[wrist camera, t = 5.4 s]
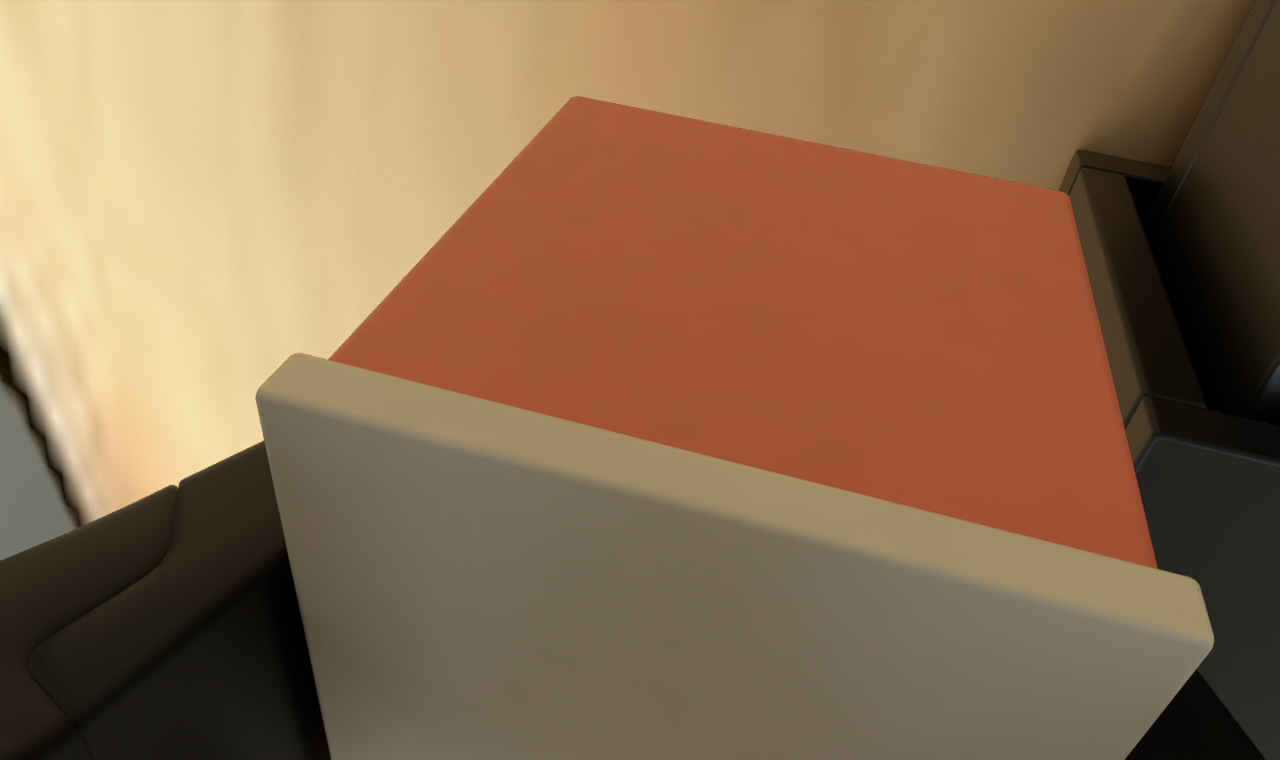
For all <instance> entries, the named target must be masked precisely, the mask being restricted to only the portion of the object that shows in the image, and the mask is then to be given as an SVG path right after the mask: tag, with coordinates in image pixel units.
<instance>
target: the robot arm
mask: <svg viewBox="0 0 1280 760" xmlns="http://www.w3.org/2000/svg"><path fill="white" fill-rule="evenodd" d="M0 760H331V757H330V752H329V747H328V742H327V738H326V733H325V728H324V723H323V718H322V714H321V709H320V704H319V699H318V694H317V690H316V685H315V680H314V675H313V671H312V666H311V661H310V656H309V651H308V647H307V642H306V637H305V632H304V628H303V623H302V618H301V613H300V608H299V604H298V599H297V594H296V589H295V585H294V580H293V575H292V570H291V565H290V561H289V556H288V551H287V546H286V541H285V537H284V532H283V527H282V522H281V518H280V513H279V508H278V503H277V498H276V494H275V489H274V484H273V479H272V475H271V470H270V465H269V460H268V455H267V451H266V446H265V441H262V442H260V443H258V444H256V445H253V446H251V447H249V448H247V449H245V450H243V451H241V452H239V453H237V454H235V455H233V456H231V457H228V458H226V459H224V460H222V461H220V462H218V463H216V464H214V465H212V466H210V467H208V468H206V469H204V470H201V471H199V472H197V473H195V474H193V475H191V476H189V477H187V478H185V479H183V480H181V481H180V483H179V487H177V486H175V485H170V486H168V487H165V488H163V489H161V490H159V491H157V492H155V493H153V494H151V495H149V496H147V497H145V498H143V499H140V500H138V501H136V502H134V503H132V504H130V505H128V506H126V507H123V508H121V509H119V510H117V511H115V512H112V513H110V514H108V515H106V516H104V517H102V518H99V519H97V520H95V521H93V522H91V523H88V524H86V525H84V526H82V527H80V528H77V529H75V530H73V531H71V532H69V533H67V534H64V535H62V536H59V537H57V538H54V539H52V540H50V541H47V542H45V543H42V544H40V545H37V546H35V547H33V548H30V549H28V550H25V551H23V552H21V553H18V554H16V555H13V556H11V557H9V558H6V559H4V560H1V561H0ZM1125 760H1266V759H1265V757H1264V756H1263V755H1262V754H1261V752H1260V751H1259V750H1258V748H1257V747H1256V746H1255V744H1254V743H1253V742H1252V740H1251V739H1250V738H1249V736H1248V735H1247V734H1246V733H1245V731H1244V730H1243V729H1242V727H1241V726H1240V725H1239V723H1238V722H1237V721H1236V719H1235V718H1234V717H1233V715H1232V714H1231V713H1230V712H1229V710H1228V709H1227V708H1226V706H1225V705H1224V704H1223V702H1222V701H1221V700H1220V698H1219V697H1218V696H1217V695H1216V693H1215V692H1214V691H1213V689H1212V688H1211V687H1210V685H1209V684H1208V683H1207V681H1206V680H1205V679H1204V677H1203V676H1202V675H1201V674H1200V672H1199V671H1198V670H1197V669H1196V670H1195V671H1194V672H1193V674H1192V675H1191V676H1190V678H1189V679H1188V680H1187V681H1186V683H1185V684H1184V685H1183V686H1182V688H1181V689H1180V690H1179V691H1178V693H1177V694H1176V695H1175V697H1174V698H1173V699H1172V700H1171V702H1170V703H1169V704H1168V705H1167V707H1166V708H1165V709H1164V710H1163V712H1162V713H1161V714H1160V716H1159V717H1158V718H1157V719H1156V721H1155V722H1154V723H1153V724H1152V726H1151V727H1150V728H1149V729H1148V731H1147V732H1146V733H1145V735H1144V736H1143V737H1142V738H1141V740H1140V741H1139V742H1138V743H1137V745H1136V746H1135V747H1134V748H1133V750H1132V751H1131V752H1130V754H1129V755H1128V756H1127V757H1126V759H1125Z"/></svg>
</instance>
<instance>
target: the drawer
mask: <svg viewBox="0 0 1280 760" xmlns="http://www.w3.org/2000/svg"><path fill="white" fill-rule="evenodd" d="M1142 226H1143V228H1144V231H1145V234H1146V237H1147V239H1148V242H1149V245H1150V248H1151V251H1152V253H1153V256H1154V259H1155V262H1156V264H1157V267H1158V270H1159V273H1160V275H1161V278H1162V281H1163V284H1164V287H1165V289H1166V292H1167V295H1168V298H1169V300H1170V303H1171V306H1172V309H1173V312H1174V314H1175V317H1176V320H1177V323H1178V325H1179V328H1180V331H1181V334H1182V336H1183V339H1184V342H1185V345H1186V348H1187V350H1188V353H1189V356H1190V359H1191V361H1192V364H1193V367H1194V370H1195V373H1196V375H1197V378H1198V381H1199V384H1200V386H1201V389H1202V392H1203V395H1204V397H1205V400H1206V403H1207V409H1209V410H1213V411H1217V412H1222V413H1226V414H1230V415H1234V416H1239V417H1243V418H1247V419H1251V420H1256V421H1260V422H1264V423H1268V424H1273V425H1277V426H1280V0H1255V1H1254V3H1253V5H1252V7H1251V9H1250V11H1249V13H1248V15H1247V17H1246V19H1245V21H1244V23H1243V25H1242V27H1241V29H1240V31H1239V33H1238V35H1237V37H1236V39H1235V41H1234V43H1233V45H1232V47H1231V49H1230V51H1229V53H1228V55H1227V57H1226V59H1225V61H1224V63H1223V65H1222V67H1221V69H1220V71H1219V73H1218V75H1217V77H1216V79H1215V81H1214V83H1213V85H1212V87H1211V89H1210V91H1209V93H1208V95H1207V97H1206V99H1205V101H1204V103H1203V105H1202V107H1201V109H1200V111H1199V113H1198V115H1197V117H1196V119H1195V121H1194V123H1193V125H1192V127H1191V129H1190V131H1189V133H1188V135H1187V137H1186V139H1185V141H1184V143H1183V145H1182V147H1181V149H1180V151H1179V153H1178V155H1177V157H1176V159H1175V161H1174V163H1173V165H1172V167H1171V169H1170V171H1169V173H1168V175H1167V177H1166V179H1165V181H1164V183H1163V185H1162V187H1161V189H1160V191H1159V193H1158V195H1157V197H1156V199H1155V201H1154V203H1153V205H1152V207H1151V209H1150V211H1149V213H1148V215H1147V217H1146V219H1145V221H1144V223H1143V225H1142Z"/></svg>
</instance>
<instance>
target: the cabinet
mask: <svg viewBox="0 0 1280 760" xmlns="http://www.w3.org/2000/svg"><path fill="white" fill-rule="evenodd" d="M1170 169H1171V168H1168V167H1163V166H1158V165H1153V164H1148V163H1143V162H1138V161H1133V160H1128V159H1123V158H1118V157H1113V156H1108V155H1103V154H1098V153H1093V152H1088V151H1083V150H1077V151H1076V152H1075V154H1074V157H1073V159H1072V161H1071V164H1070V166H1069V168H1068V171H1067V173H1066V176H1065V178H1064V180H1063V183H1062V185H1061V187H1060V190H1059V191H1061V192H1064V193H1065V194H1067V195H1069V197H1070V201H1071V205H1072V210H1073V214H1074V218H1075V222H1076V226H1077V231H1078V235H1079V239H1080V243H1081V247H1082V252H1083V256H1084V260H1085V264H1086V268H1087V273H1088V277H1089V281H1090V285H1091V290H1092V294H1093V298H1094V302H1095V306H1096V311H1097V315H1098V319H1099V323H1100V327H1101V332H1102V336H1103V340H1104V344H1105V348H1106V353H1107V357H1108V361H1109V365H1110V370H1111V374H1112V378H1113V382H1114V386H1115V391H1116V395H1117V399H1118V403H1119V407H1120V412H1121V416H1122V420H1123V424H1124V428H1125V433H1126V437H1127V441H1128V445H1129V450H1130V454H1131V458H1132V462H1133V466H1134V471H1135V475H1136V479H1137V483H1138V487H1139V492H1140V496H1141V500H1142V504H1143V508H1144V513H1145V517H1146V521H1147V525H1148V530H1149V534H1150V538H1151V542H1152V546H1153V551H1154V555H1155V559H1156V563H1157V567H1158V569H1159V570H1163V571H1167V572H1171V573H1175V574H1179V575H1183V576H1187V577H1190V578H1192V579H1194V580H1195V581H1197V583H1198V584H1199V585H1200V588H1201V592H1202V596H1203V599H1204V603H1205V606H1206V610H1207V613H1208V617H1209V621H1210V624H1211V628H1212V631H1213V635H1214V644H1213V648H1212V650H1211V651H1210V652H1209V653H1208V655H1207V656H1206V657H1205V659H1204V660H1203V661H1202V662H1201V664H1200V665H1199V666H1198V667H1197V670H1198V671H1199V672H1200V674H1201V675H1202V676H1203V677H1204V679H1205V680H1206V681H1207V683H1208V684H1209V685H1210V687H1211V688H1212V689H1213V691H1214V692H1215V693H1216V695H1217V696H1218V697H1219V698H1220V700H1221V701H1222V702H1223V704H1224V705H1225V706H1226V708H1227V709H1228V710H1229V712H1230V713H1231V714H1232V715H1233V717H1234V718H1235V719H1236V721H1237V722H1238V723H1239V725H1240V726H1241V727H1242V729H1243V730H1244V731H1245V733H1246V734H1247V735H1248V736H1249V738H1250V739H1251V740H1252V742H1253V743H1254V744H1255V746H1256V747H1257V748H1258V750H1259V751H1260V752H1261V754H1262V755H1263V756H1264V757H1265V759H1266V760H1280V426H1277V425H1273V424H1268V423H1264V422H1260V421H1256V420H1251V419H1247V418H1243V417H1239V416H1234V415H1230V414H1226V413H1222V412H1217V411H1213V410H1209V409H1207V403H1206V400H1205V397H1204V395H1203V392H1202V389H1201V386H1200V384H1199V381H1198V378H1197V375H1196V373H1195V370H1194V367H1193V364H1192V361H1191V359H1190V356H1189V353H1188V350H1187V348H1186V345H1185V342H1184V339H1183V336H1182V334H1181V331H1180V328H1179V325H1178V323H1177V320H1176V317H1175V314H1174V312H1173V309H1172V306H1171V303H1170V300H1169V298H1168V295H1167V292H1166V289H1165V287H1164V284H1163V281H1162V278H1161V275H1160V273H1159V270H1158V267H1157V264H1156V262H1155V259H1154V256H1153V253H1152V251H1151V248H1150V245H1149V242H1148V239H1147V237H1146V234H1145V231H1144V228H1143V226H1142V225H1143V223H1144V221H1145V219H1146V217H1147V215H1148V213H1149V211H1150V209H1151V207H1152V205H1153V203H1154V201H1155V199H1156V197H1157V195H1158V193H1159V191H1160V189H1161V187H1162V185H1163V183H1164V181H1165V179H1166V177H1167V175H1168V173H1169V171H1170Z"/></svg>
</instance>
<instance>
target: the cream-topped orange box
mask: <svg viewBox="0 0 1280 760" xmlns="http://www.w3.org/2000/svg"><path fill="white" fill-rule="evenodd" d="M256 403H257V408H258V412H259V417H260V422H261V427H262V432H263V436H264V441H265V446H266V451H267V455H268V460H269V465H270V470H271V475H272V479H273V484H274V489H275V494H276V498H277V503H278V508H279V513H280V518H281V522H282V527H283V532H284V537H285V541H286V546H287V551H288V556H289V561H290V565H291V570H292V575H293V580H294V585H295V589H296V594H297V599H298V604H299V608H300V613H301V618H302V623H303V628H304V632H305V637H306V642H307V647H308V651H309V656H310V661H311V666H312V671H313V675H314V680H315V685H316V690H317V694H318V699H319V704H320V709H321V714H322V718H323V723H324V728H325V733H326V738H327V742H328V747H329V752H330V757H331V760H1125V759H1126V757H1127V756H1128V755H1129V754H1130V752H1131V751H1132V750H1133V748H1134V747H1135V746H1136V745H1137V743H1138V742H1139V741H1140V740H1141V738H1142V737H1143V736H1144V735H1145V733H1146V732H1147V731H1148V729H1149V728H1150V727H1151V726H1152V724H1153V723H1154V722H1155V721H1156V719H1157V718H1158V717H1159V716H1160V714H1161V713H1162V712H1163V710H1164V709H1165V708H1166V707H1167V705H1168V704H1169V703H1170V702H1171V700H1172V699H1173V698H1174V697H1175V695H1176V694H1177V693H1178V691H1179V690H1180V689H1181V688H1182V686H1183V685H1184V684H1185V683H1186V681H1187V680H1188V679H1189V678H1190V676H1191V675H1192V674H1193V672H1194V671H1195V670H1196V669H1197V667H1198V666H1199V665H1200V664H1201V662H1202V661H1203V660H1204V659H1205V657H1206V656H1207V655H1208V653H1209V652H1210V651H1211V650H1212V648H1213V644H1214V635H1213V631H1212V628H1211V624H1210V621H1209V617H1208V613H1207V610H1206V606H1205V603H1204V599H1203V596H1202V592H1201V588H1200V585H1199V584H1198V583H1197V581H1195V580H1194V579H1192V578H1190V577H1187V576H1183V575H1179V574H1175V573H1171V572H1167V571H1163V570H1159V569H1158V567H1157V563H1156V559H1155V555H1154V551H1153V546H1152V542H1151V538H1150V534H1149V530H1148V525H1147V521H1146V517H1145V513H1144V508H1143V504H1142V500H1141V496H1140V492H1139V487H1138V483H1137V479H1136V475H1135V471H1134V466H1133V462H1132V458H1131V454H1130V450H1129V445H1128V441H1127V437H1126V433H1125V428H1124V424H1123V420H1122V416H1121V412H1120V407H1119V403H1118V399H1117V395H1116V391H1115V386H1114V382H1113V378H1112V374H1111V370H1110V365H1109V361H1108V357H1107V353H1106V348H1105V344H1104V340H1103V336H1102V332H1101V327H1100V323H1099V319H1098V315H1097V311H1096V306H1095V302H1094V298H1093V294H1092V290H1091V285H1090V281H1089V277H1088V273H1087V268H1086V264H1085V260H1084V256H1083V252H1082V247H1081V243H1080V239H1079V235H1078V231H1077V226H1076V222H1075V218H1074V214H1073V210H1072V205H1071V201H1070V197H1069V195H1067V194H1065V193H1064V192H1061V191H1056V190H1051V189H1046V188H1040V187H1035V186H1030V185H1025V184H1020V183H1015V182H1010V181H1005V180H1000V179H995V178H990V177H985V176H980V175H975V174H970V173H964V172H959V171H954V170H949V169H944V168H939V167H934V166H929V165H924V164H919V163H914V162H909V161H904V160H899V159H893V158H888V157H883V156H878V155H873V154H868V153H863V152H858V151H853V150H848V149H843V148H838V147H833V146H828V145H823V144H817V143H812V142H807V141H802V140H797V139H792V138H787V137H782V136H777V135H772V134H767V133H762V132H757V131H752V130H746V129H741V128H736V127H731V126H726V125H721V124H716V123H711V122H706V121H701V120H696V119H691V118H686V117H681V116H676V115H670V114H665V113H660V112H655V111H650V110H645V109H640V108H635V107H630V106H625V105H620V104H615V103H610V102H605V101H599V100H594V99H589V98H584V97H579V96H576V97H572V98H571V99H570V100H569V101H568V102H567V103H566V104H565V105H564V106H563V107H562V108H561V109H560V110H559V112H558V113H557V114H556V115H555V116H554V117H553V118H552V119H551V120H550V121H549V122H548V123H547V124H546V126H545V127H544V128H543V129H542V130H541V131H540V132H539V133H538V134H537V135H536V136H535V137H534V138H533V140H532V141H531V142H530V143H529V144H528V145H527V146H526V147H525V148H524V149H523V150H522V151H521V152H520V154H519V155H518V156H517V157H516V158H515V159H514V160H513V161H512V162H511V163H510V164H509V165H508V166H507V168H506V169H505V170H504V171H503V172H502V173H501V174H500V175H499V176H498V177H497V178H496V179H495V180H494V182H493V183H492V184H491V185H490V186H489V187H488V188H487V189H486V190H485V191H484V192H483V193H482V194H481V196H480V197H479V198H478V199H477V200H476V201H475V202H474V203H473V204H472V205H471V206H470V207H469V208H468V210H467V211H466V212H465V213H464V214H463V215H462V216H461V217H460V218H459V219H458V220H457V221H456V222H455V224H454V225H453V226H452V227H451V228H450V229H449V230H448V231H447V232H446V233H445V234H444V235H443V236H442V238H441V239H440V240H439V241H438V242H437V243H436V244H435V245H434V246H433V247H432V248H431V249H430V250H429V252H428V253H427V254H426V255H425V256H424V257H423V258H422V259H421V260H420V261H419V262H418V263H417V264H416V266H415V267H414V268H413V269H412V270H411V271H410V272H409V273H408V274H407V275H406V276H405V277H404V278H403V280H402V281H401V282H400V283H399V284H398V285H397V286H396V287H395V288H394V289H393V290H392V291H391V292H390V294H389V295H388V296H387V297H386V298H385V299H384V300H383V301H382V302H381V303H380V304H379V305H378V306H377V308H376V309H375V310H374V311H373V312H372V313H371V314H370V315H369V316H368V317H367V318H366V319H365V320H364V322H363V323H362V324H361V325H360V326H359V327H358V328H357V329H356V330H355V331H354V332H353V333H352V334H351V336H350V337H349V338H348V339H347V340H346V341H345V342H344V343H343V344H342V345H341V346H340V347H339V348H338V350H337V351H336V352H335V353H334V354H333V355H332V356H331V357H330V358H329V359H328V360H326V359H322V358H318V357H314V356H310V355H307V354H303V353H296V354H293V355H291V356H290V357H289V358H288V359H287V360H286V361H285V362H284V363H283V364H282V365H281V366H280V367H279V368H278V369H277V370H276V371H275V372H274V373H273V374H272V375H271V376H270V377H269V378H268V379H267V380H266V381H265V382H264V383H263V384H262V385H261V386H260V387H259V388H258V391H257V393H256Z"/></svg>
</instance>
